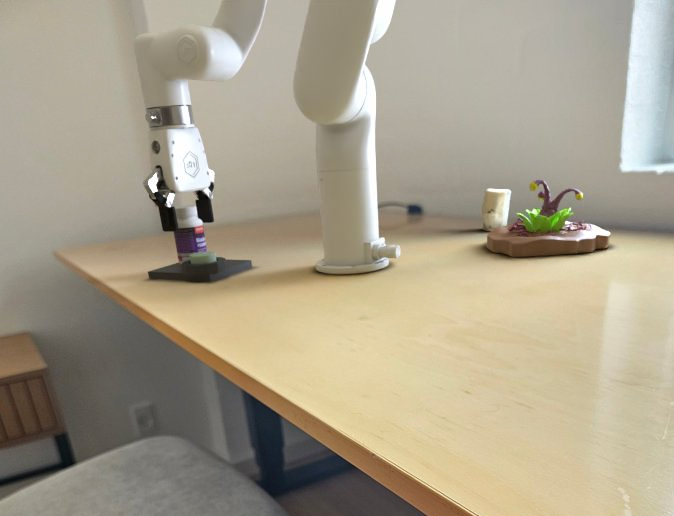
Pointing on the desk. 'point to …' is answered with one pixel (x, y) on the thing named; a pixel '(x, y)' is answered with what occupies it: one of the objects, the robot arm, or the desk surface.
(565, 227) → the plant
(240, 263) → the scale
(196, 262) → the tare button
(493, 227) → the white speckled cylinder
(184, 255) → the pill bottle
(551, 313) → the desk surface
